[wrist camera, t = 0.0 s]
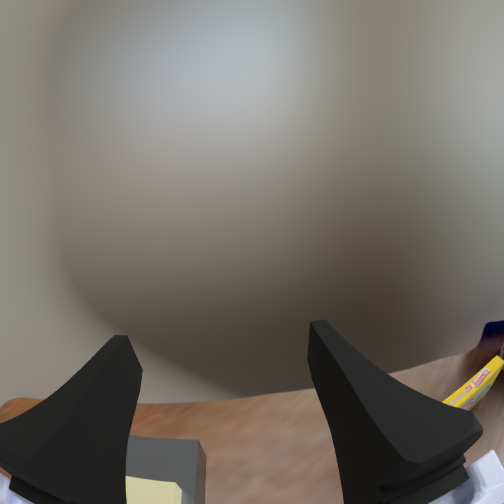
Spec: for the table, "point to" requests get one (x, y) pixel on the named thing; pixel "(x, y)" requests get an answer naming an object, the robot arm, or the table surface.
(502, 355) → the coffee box
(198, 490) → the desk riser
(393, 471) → the robot arm
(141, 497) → the sticky-note pad
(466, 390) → the candy box
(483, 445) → the table surface
